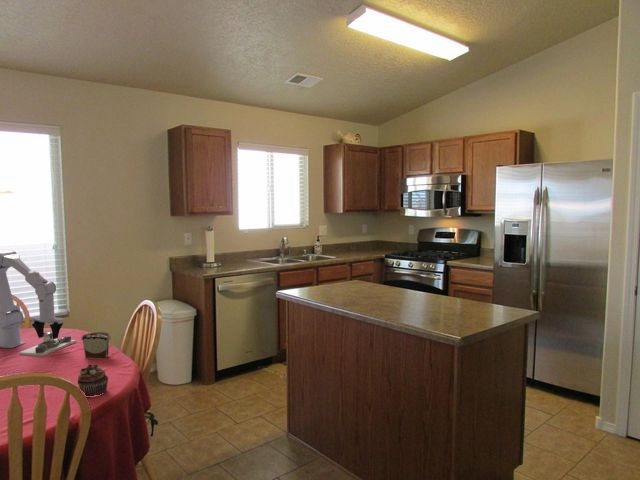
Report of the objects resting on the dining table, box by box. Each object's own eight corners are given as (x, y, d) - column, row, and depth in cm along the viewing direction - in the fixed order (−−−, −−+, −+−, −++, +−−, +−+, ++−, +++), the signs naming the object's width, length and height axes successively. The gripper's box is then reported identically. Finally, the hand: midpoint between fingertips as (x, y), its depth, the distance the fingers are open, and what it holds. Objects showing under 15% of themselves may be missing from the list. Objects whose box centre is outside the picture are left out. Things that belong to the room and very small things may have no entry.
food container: (117, 354, 197) (116, 332, 196) (109, 359, 191) (108, 336, 190) (90, 353, 198) (89, 331, 198) (82, 358, 192) (81, 335, 191)
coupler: (41, 347, 204) (41, 334, 203) (48, 344, 208) (47, 331, 207) (50, 347, 203) (49, 334, 203) (56, 344, 207) (55, 331, 207)
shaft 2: (67, 340, 214) (67, 335, 214) (71, 341, 213) (70, 336, 212) (57, 343, 210) (56, 337, 210) (60, 344, 208) (60, 338, 208)
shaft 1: (42, 353, 196) (42, 347, 196) (35, 353, 195) (35, 347, 195) (47, 349, 201) (47, 344, 201) (40, 350, 200) (40, 344, 200)
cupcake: (103, 398, 153) (101, 370, 152) (73, 399, 152) (72, 371, 151) (113, 387, 163) (112, 360, 162) (85, 388, 162) (84, 361, 161)
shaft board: (19, 354, 196) (18, 348, 196) (54, 340, 216) (53, 335, 216) (42, 356, 194) (42, 350, 194) (76, 342, 214) (75, 337, 214)
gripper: (67, 307, 206) (68, 336, 207) (39, 306, 209) (41, 334, 210) (55, 311, 199) (57, 340, 200) (27, 309, 202) (29, 338, 203)
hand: (48, 337), depth 205 cm, fingers open, 7 cm apart
